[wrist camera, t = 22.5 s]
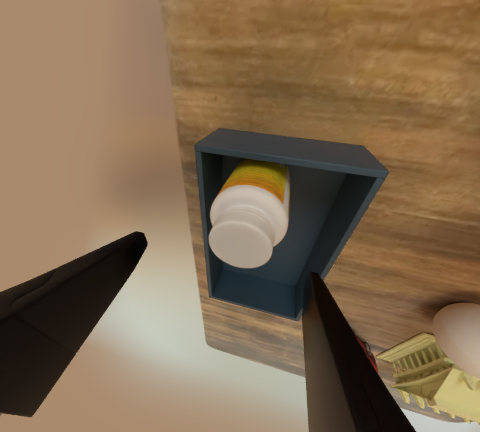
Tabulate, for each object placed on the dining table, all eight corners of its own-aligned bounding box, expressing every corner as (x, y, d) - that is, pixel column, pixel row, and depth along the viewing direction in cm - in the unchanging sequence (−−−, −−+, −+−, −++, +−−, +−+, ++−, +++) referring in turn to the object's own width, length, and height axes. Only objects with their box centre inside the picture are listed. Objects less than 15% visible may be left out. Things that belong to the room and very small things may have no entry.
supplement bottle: (228, 157, 18) (178, 218, 10) (283, 140, 16) (272, 199, 8) (246, 203, 21) (218, 277, 13) (295, 193, 19) (296, 276, 11)
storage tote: (218, 128, 17) (193, 144, 13) (363, 145, 15) (390, 171, 11) (220, 267, 31) (208, 297, 27) (297, 286, 29) (298, 321, 25)
